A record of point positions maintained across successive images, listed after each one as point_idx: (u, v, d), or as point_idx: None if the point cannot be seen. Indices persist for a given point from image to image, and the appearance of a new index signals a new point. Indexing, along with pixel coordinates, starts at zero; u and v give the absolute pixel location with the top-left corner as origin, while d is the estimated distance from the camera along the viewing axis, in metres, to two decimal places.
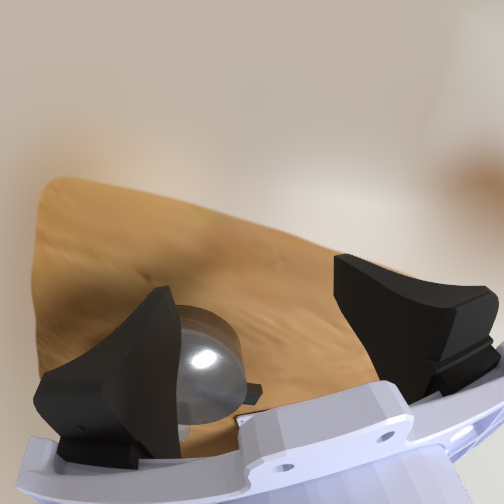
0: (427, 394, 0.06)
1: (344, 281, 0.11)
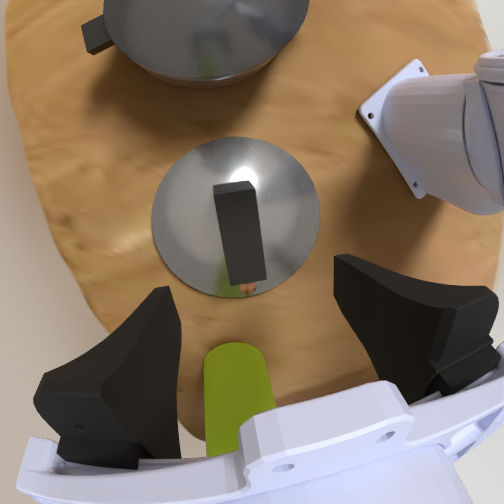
0: (427, 394, 0.06)
1: (344, 281, 0.11)
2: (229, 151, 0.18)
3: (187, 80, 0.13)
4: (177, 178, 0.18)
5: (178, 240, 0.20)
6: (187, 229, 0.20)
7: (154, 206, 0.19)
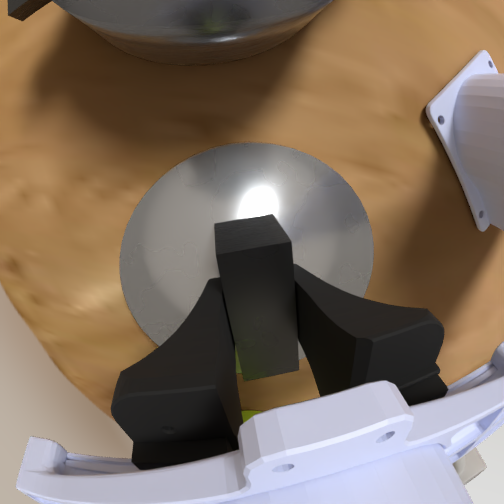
0: None
1: None
2: (241, 167, 0.11)
3: (167, 42, 0.07)
4: (156, 212, 0.11)
5: (162, 305, 0.13)
6: (175, 290, 0.13)
7: (122, 256, 0.12)
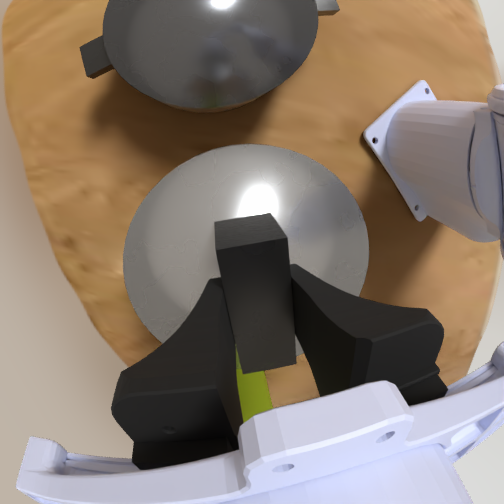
0: None
1: None
2: (240, 168, 0.11)
3: (191, 108, 0.14)
4: (159, 211, 0.12)
5: (164, 301, 0.13)
6: (176, 286, 0.13)
7: (125, 253, 0.12)
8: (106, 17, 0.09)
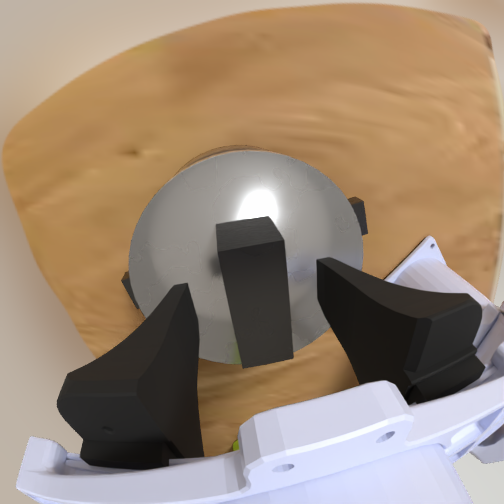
0: None
1: (326, 285, 0.11)
2: (240, 173, 0.12)
3: None
4: (163, 214, 0.12)
5: None
6: None
7: (131, 254, 0.13)
8: None
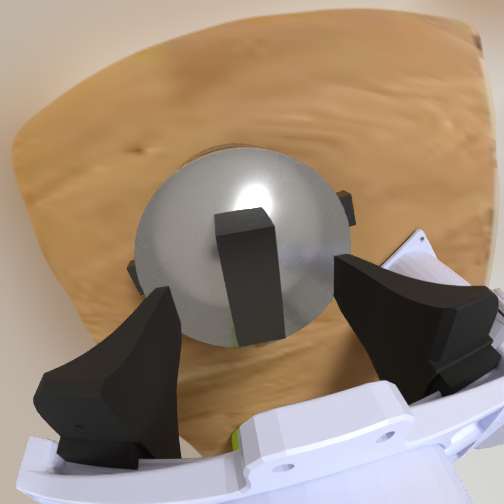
0: (427, 394, 0.06)
1: (344, 281, 0.11)
2: (236, 168, 0.13)
3: None
4: (166, 205, 0.14)
5: (170, 284, 0.15)
6: (181, 271, 0.15)
7: (137, 241, 0.14)
8: None
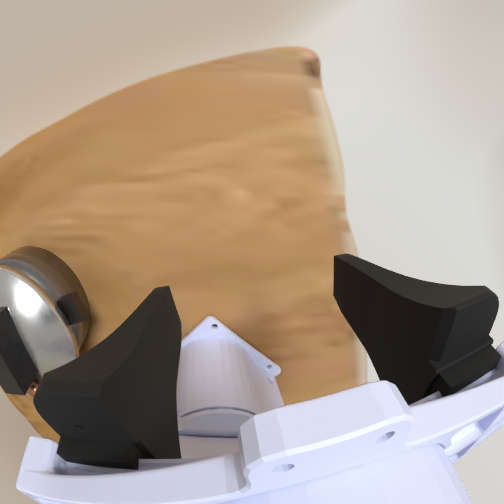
0: (427, 394, 0.06)
1: (344, 281, 0.11)
2: None
3: None
4: None
5: None
6: None
7: None
8: None
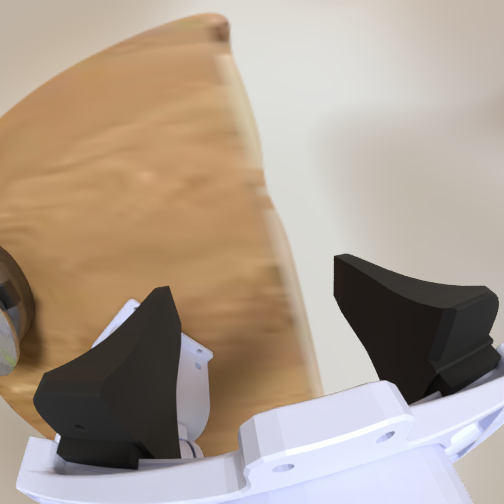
0: (427, 394, 0.06)
1: (344, 281, 0.11)
2: None
3: None
4: None
5: None
6: None
7: None
8: None
